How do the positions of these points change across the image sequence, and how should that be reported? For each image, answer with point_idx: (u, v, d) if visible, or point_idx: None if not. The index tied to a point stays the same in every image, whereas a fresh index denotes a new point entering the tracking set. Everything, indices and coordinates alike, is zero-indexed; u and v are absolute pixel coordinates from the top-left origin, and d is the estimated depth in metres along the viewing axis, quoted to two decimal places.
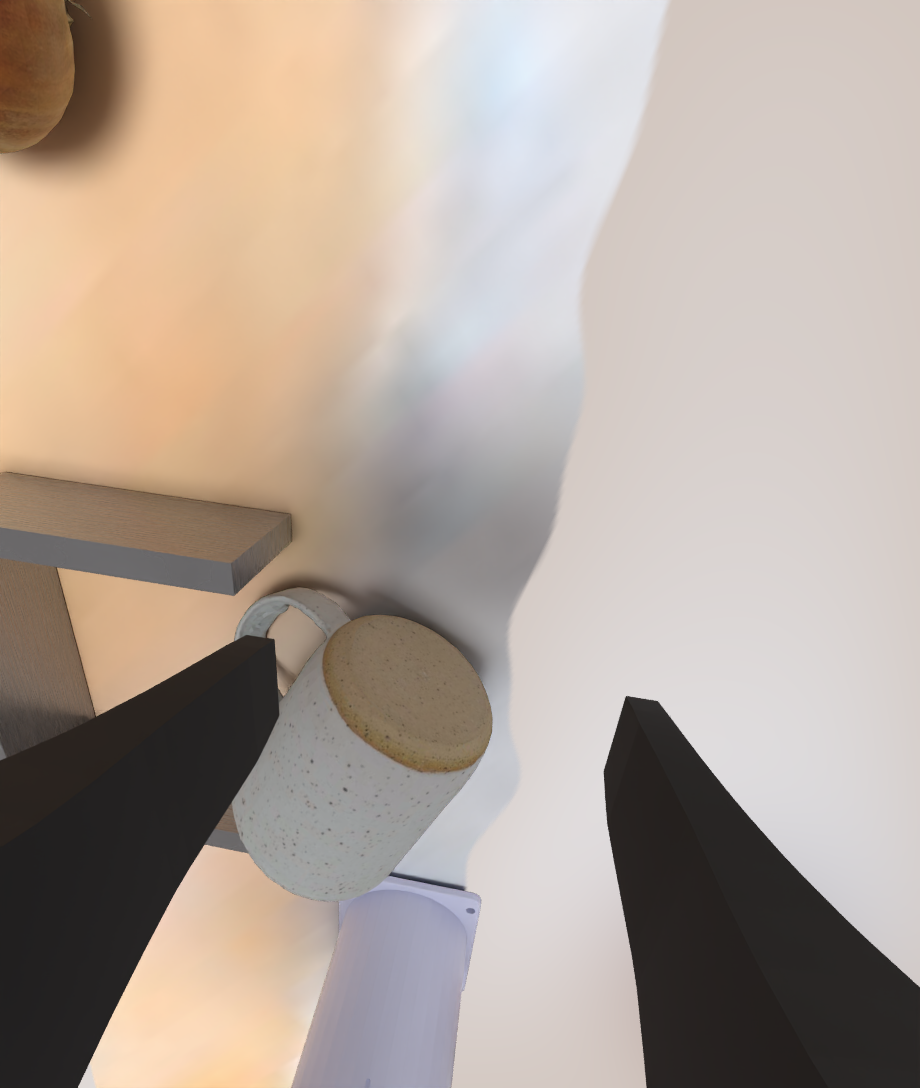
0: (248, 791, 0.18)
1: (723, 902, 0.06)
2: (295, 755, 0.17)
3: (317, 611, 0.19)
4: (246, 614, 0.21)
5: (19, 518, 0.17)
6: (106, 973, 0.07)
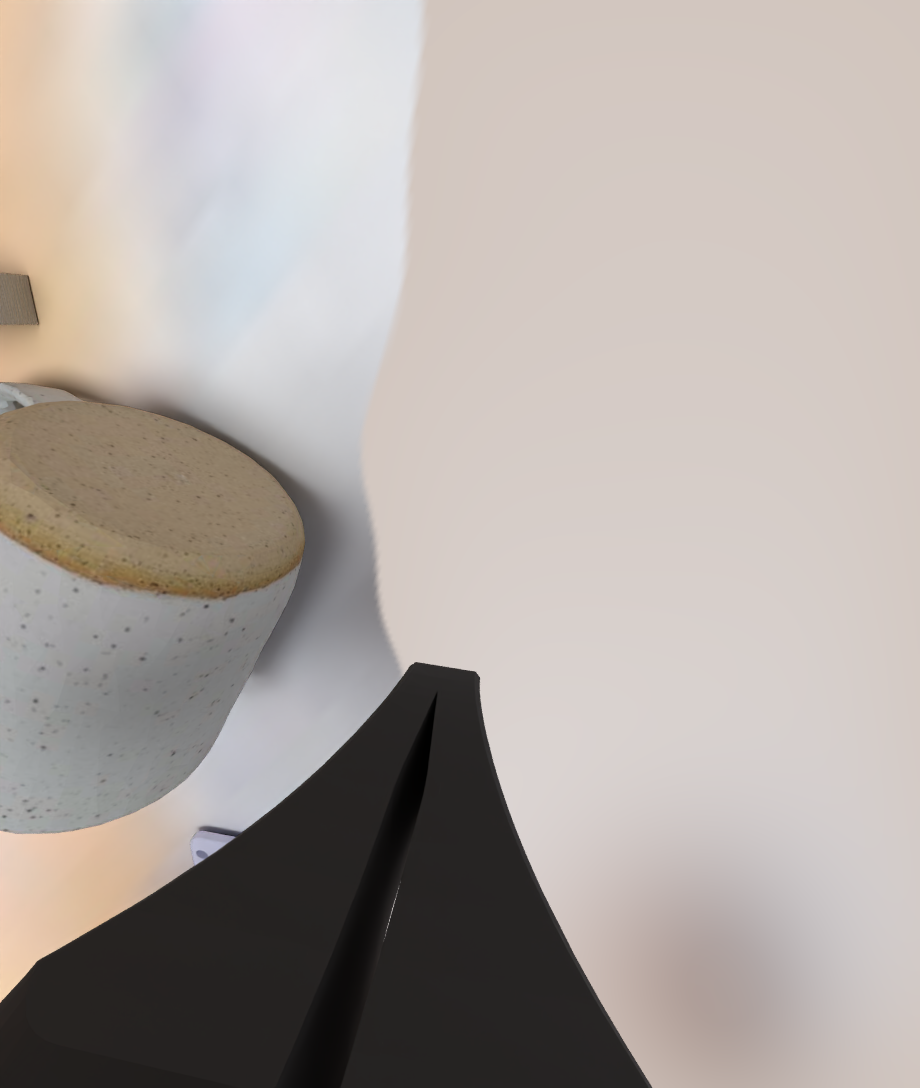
0: None
1: (412, 843, 0.06)
2: None
3: (37, 397, 0.13)
4: None
5: None
6: None
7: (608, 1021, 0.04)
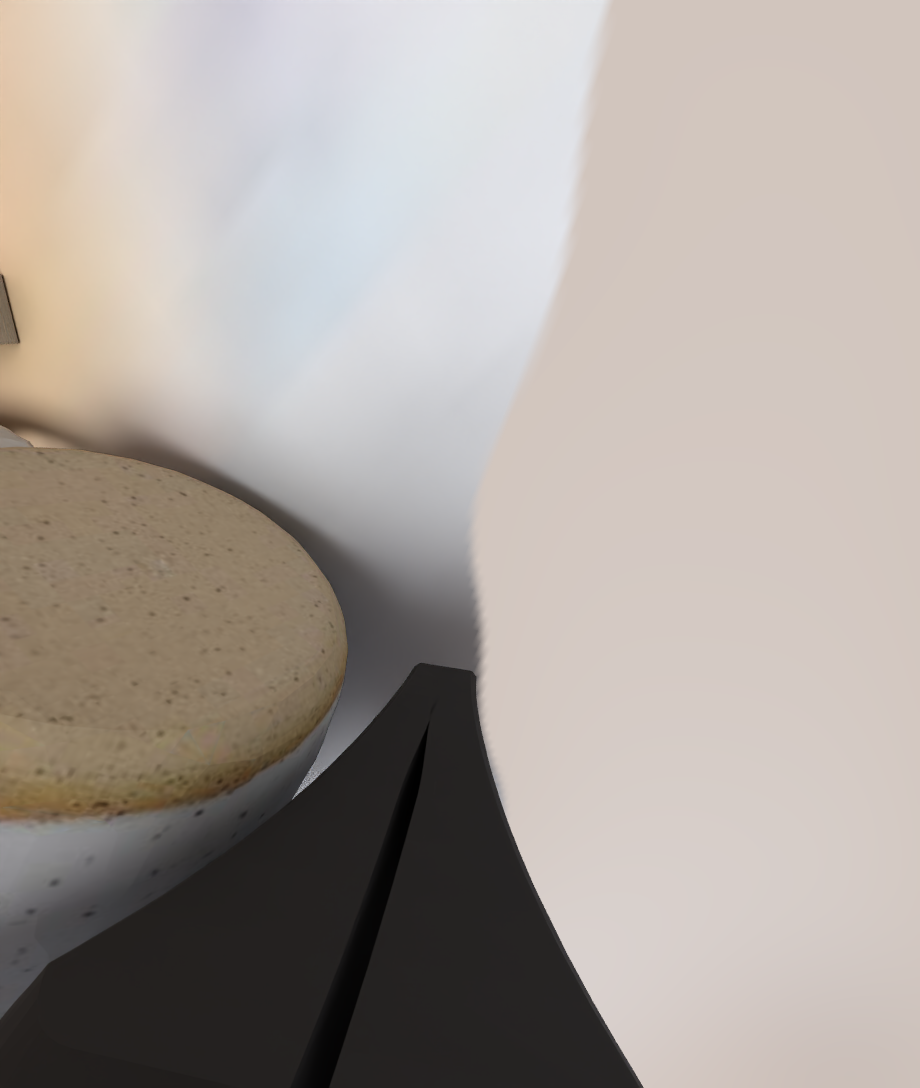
0: None
1: (406, 841, 0.06)
2: None
3: None
4: None
5: None
6: None
7: (599, 1019, 0.04)
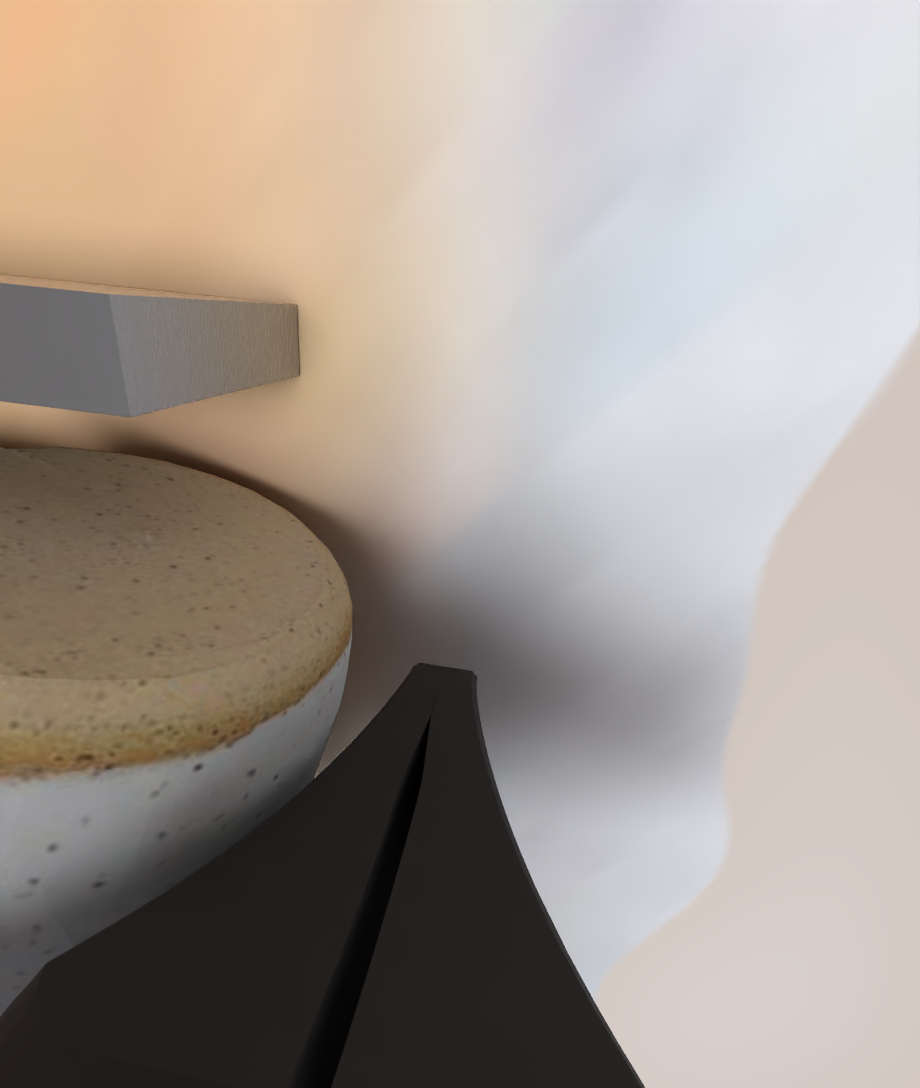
0: None
1: (407, 842, 0.06)
2: None
3: None
4: None
5: None
6: None
7: (600, 1020, 0.04)
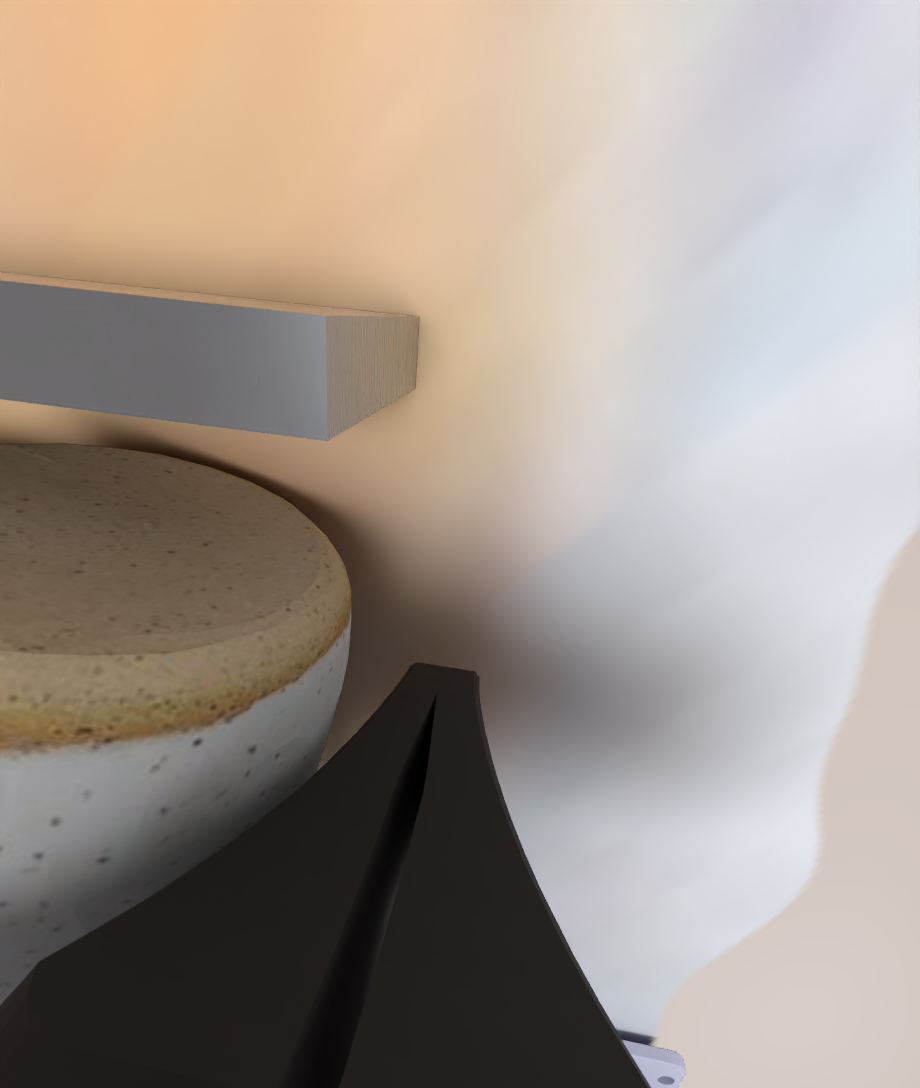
0: None
1: (411, 843, 0.06)
2: None
3: None
4: None
5: None
6: None
7: (607, 1021, 0.04)
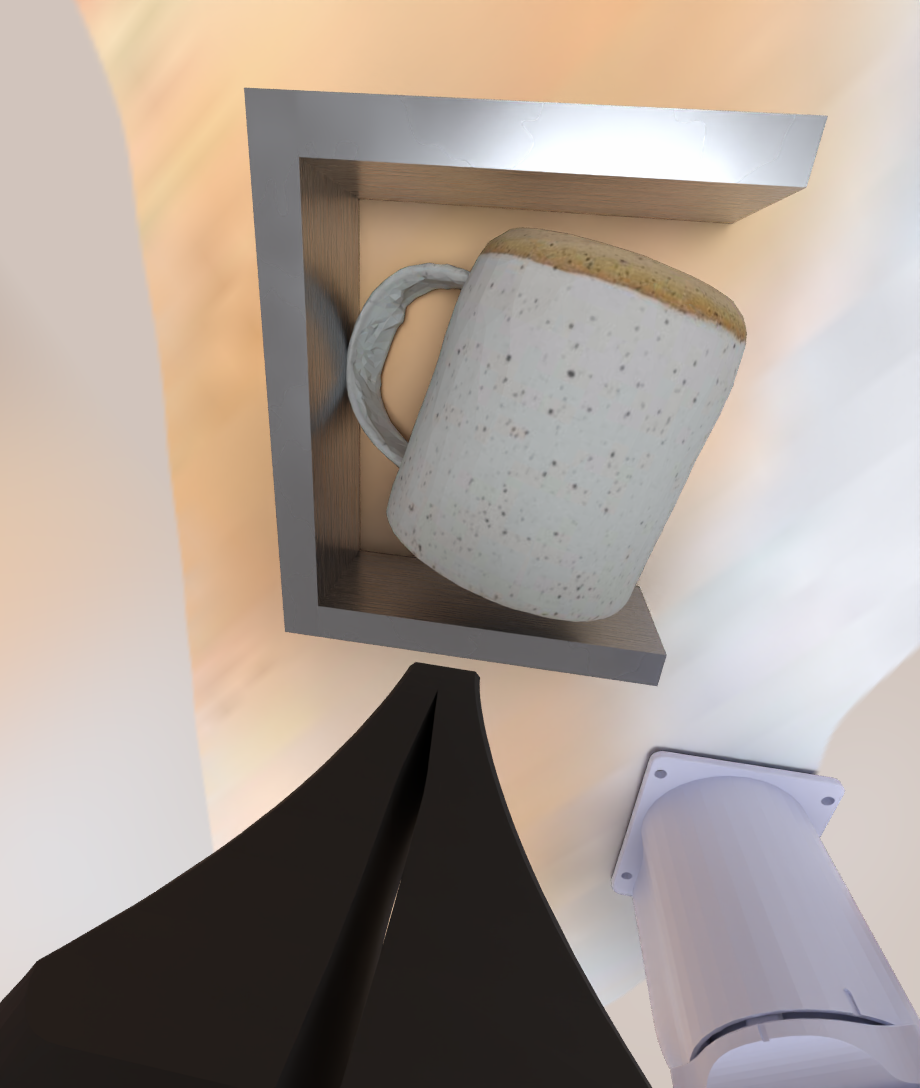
0: (415, 490, 0.13)
1: (412, 843, 0.06)
2: (477, 374, 0.11)
3: None
4: (355, 329, 0.16)
5: None
6: None
7: (608, 1021, 0.04)
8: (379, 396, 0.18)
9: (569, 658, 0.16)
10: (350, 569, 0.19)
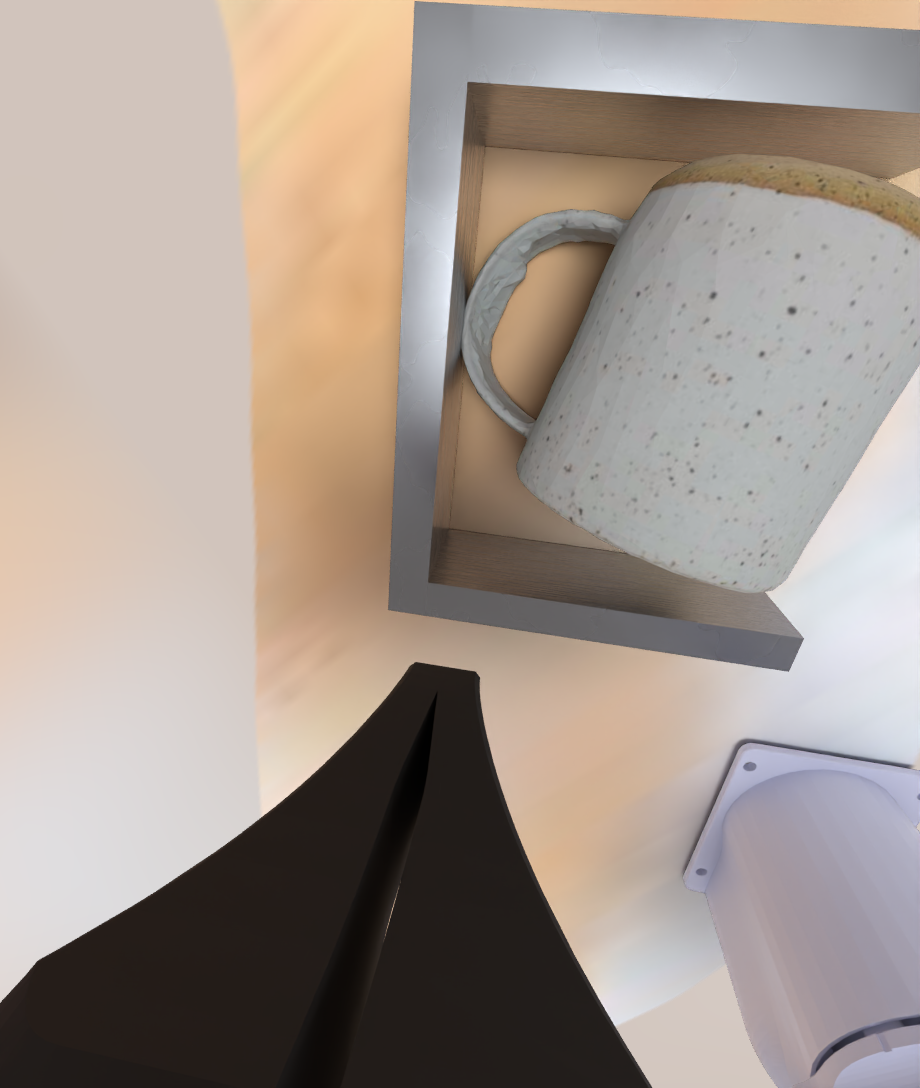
0: (573, 449, 0.12)
1: (412, 843, 0.06)
2: (668, 316, 0.10)
3: (594, 211, 0.13)
4: (476, 285, 0.15)
5: None
6: None
7: (607, 1021, 0.04)
8: (489, 360, 0.17)
9: (697, 640, 0.15)
10: (446, 547, 0.18)
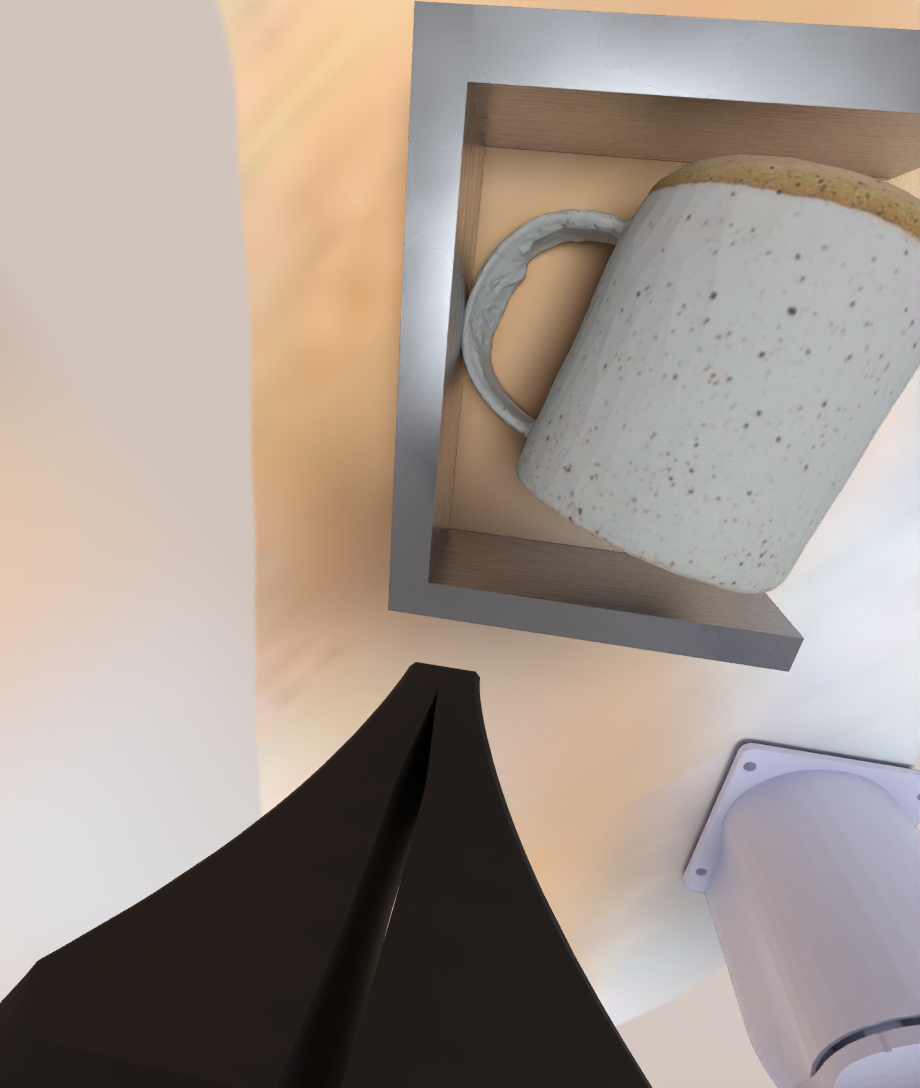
0: (573, 448, 0.12)
1: (412, 843, 0.06)
2: (668, 316, 0.10)
3: (595, 211, 0.13)
4: (476, 285, 0.15)
5: None
6: None
7: (607, 1021, 0.04)
8: (489, 360, 0.17)
9: (697, 640, 0.15)
10: (446, 547, 0.18)
